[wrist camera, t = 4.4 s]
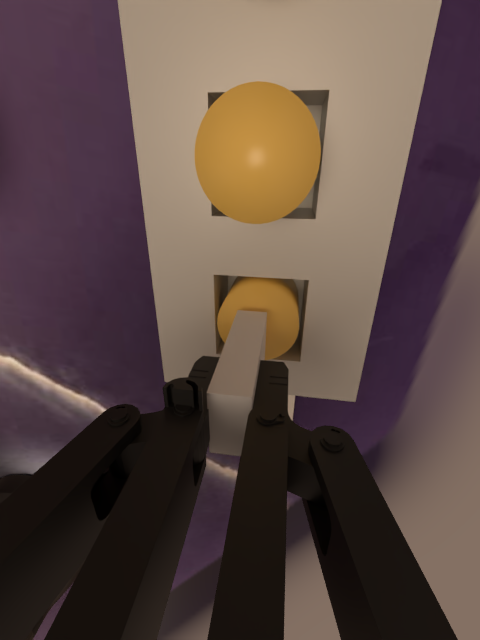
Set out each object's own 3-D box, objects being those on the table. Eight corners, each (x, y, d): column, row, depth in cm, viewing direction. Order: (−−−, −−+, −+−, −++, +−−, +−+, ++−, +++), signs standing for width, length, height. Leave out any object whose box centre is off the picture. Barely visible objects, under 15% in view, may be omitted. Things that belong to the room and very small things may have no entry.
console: (344, 356, 24) (355, 401, 19) (187, 343, 25) (164, 381, 21) (449, -227, 12) (539, -454, 8) (146, -183, 14) (74, -347, 9)
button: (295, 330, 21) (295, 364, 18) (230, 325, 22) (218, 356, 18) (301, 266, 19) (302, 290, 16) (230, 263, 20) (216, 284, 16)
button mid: (309, 210, 15) (313, 225, 12) (219, 208, 16) (197, 222, 12) (320, 100, 13) (329, 79, 10) (217, 102, 14) (190, 82, 10)
